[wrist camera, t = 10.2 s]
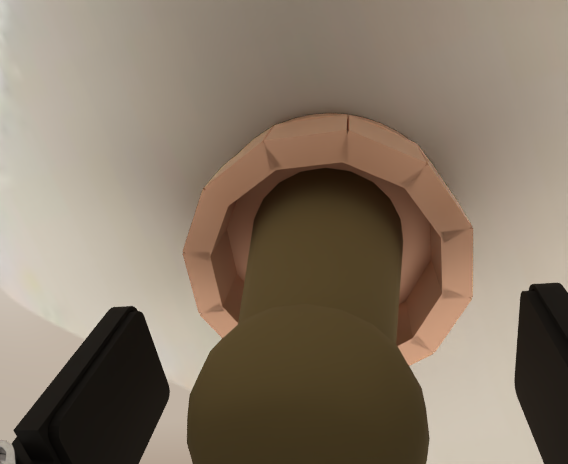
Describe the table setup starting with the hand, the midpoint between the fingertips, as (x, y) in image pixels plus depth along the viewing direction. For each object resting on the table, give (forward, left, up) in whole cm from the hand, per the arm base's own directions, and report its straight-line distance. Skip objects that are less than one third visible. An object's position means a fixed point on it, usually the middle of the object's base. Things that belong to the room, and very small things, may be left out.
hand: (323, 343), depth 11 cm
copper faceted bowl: (+1, 0, -9) cm, 8 cm away
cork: (+1, 0, -8) cm, 8 cm away
